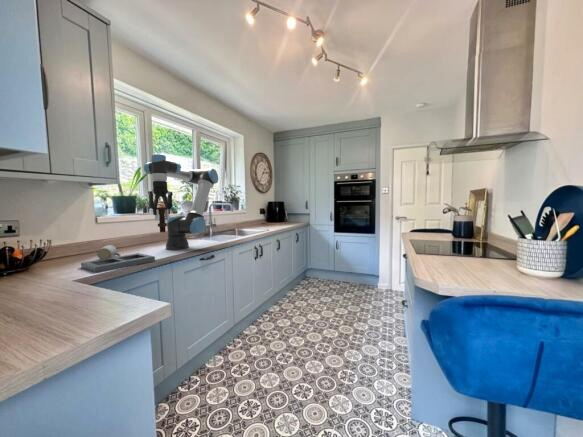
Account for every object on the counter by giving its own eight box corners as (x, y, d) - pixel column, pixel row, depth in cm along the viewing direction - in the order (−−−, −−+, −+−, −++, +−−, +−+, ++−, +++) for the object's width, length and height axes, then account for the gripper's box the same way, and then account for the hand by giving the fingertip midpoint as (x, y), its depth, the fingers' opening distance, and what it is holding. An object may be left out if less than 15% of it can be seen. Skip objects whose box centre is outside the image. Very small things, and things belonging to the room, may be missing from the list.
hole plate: (138, 257, 145) (138, 253, 145) (154, 260, 135) (154, 256, 135) (81, 267, 123) (80, 262, 123) (95, 272, 113) (95, 267, 112)
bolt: (162, 232, 142) (161, 207, 141) (155, 232, 143) (154, 207, 142) (169, 231, 147) (168, 207, 146) (162, 231, 148) (161, 207, 147)
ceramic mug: (96, 260, 138) (95, 247, 138) (103, 257, 146) (102, 245, 146) (117, 259, 141) (117, 246, 141) (123, 256, 149) (122, 244, 149)
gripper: (171, 182, 153) (173, 219, 154) (140, 180, 137) (142, 221, 139) (178, 181, 149) (180, 219, 150) (146, 179, 133) (149, 221, 135)
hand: (162, 220), depth 145 cm, fingers closed on bolt, 5 cm apart
